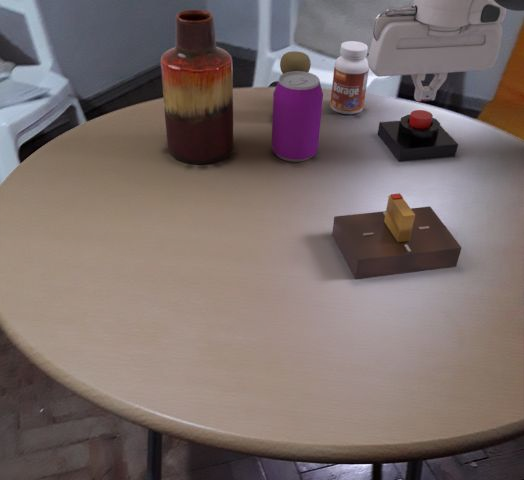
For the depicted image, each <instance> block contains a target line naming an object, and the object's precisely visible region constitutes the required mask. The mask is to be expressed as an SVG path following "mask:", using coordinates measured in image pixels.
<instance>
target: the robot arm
mask: <svg viewBox="0 0 524 480" xmlns="http://www.w3.org/2000/svg"><path fill="white" fill-rule="evenodd" d="M412 3H413V4H412V5H411V6H410V5H409V6H401V7H396V6H390V7H386V8H385V10H383V11H380V13H379V14H378V15H377V16H376V17H375V19H374V24H373V29H372V33H373V37H372V40H371V44H370V47H369V53H368V55H367V56H368V57H367V60H368V66H369V70H370V71H371V72H372V73H373V74H374V75H375V76H376V77H381V78H382V77H396V76H411V80H412V82H413V85H414V94H413V99H414V100H415V102H428V101H429V102H430V101H435V100H436V96H437V91H438V90H439V89H441V87H442V86H443V84H444V83H445V82H446V81H447V78H448V75H449V74H450V73H462V72H463V73H464V72H465V73H466V72H479V71H483V72H484V71H489V70H491V69H492V67H493V66H494V65H495V64H496V63H497V61H498V56H499V54H500V49H501V45H502V39H503V33H504V32H503V31H504V30H503V25H502V24H501V23H502V22H503V21H504V19H506V18H505V17H506V14H507V10H510V11H515V12H524V0H413V2H412ZM429 74H430V75H432V74H433V78H432V80H431V81H430V83H429V84H428V85H423V83H422V81H423V82H424V81H425V80H426V76H427V75H429Z"/></svg>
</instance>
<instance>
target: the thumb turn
mask: <svg viewBox="0 0 524 480" xmlns="http://www.w3.org/2000/svg"><path fill="white" fill-rule="evenodd" d="M387 198H388V199H387V203H386V209H385V211H386V214H385V219H384V222H385V224H386V225H387V227H388V228H389V230H390V231H391V233H392V234H393V236H394V237H395V239H396V240H397V242H406V241H409V240H410V235H411V231H412V226H413V222H414V218H415V214H414V213H413V211H412V210H411V207H410V206H409V204H408V203H407V202H406V200H405V199H404V197H403V195H402V194H401V193H400V192H399V193H392V194H389V195H388V197H387Z"/></svg>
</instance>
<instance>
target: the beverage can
mask: <svg viewBox="0 0 524 480" xmlns="http://www.w3.org/2000/svg"><path fill="white" fill-rule="evenodd" d="M322 88H323V87H322V85H321V80H320V78H319V77H318V76H317V75H316V74H313V73H311V72H309V73H308V72H301V71H292V72H287V73H284V74H283V73H282V74H281V75H279V78H278V81H277V83H276V86H275V88H274V91H273V97H272V124H271V125H272V126H271V149H272V152H273V153H274V154H275V155H276V156H277V157H278V158H279V159H282V160H284V161H287V162H293V163H299V162H305V161H308V160H310V159H311V158H312V157H314V156H315V155H316V154H317V153H318V150H319V144H320V133H321V124H322V123H321V122H322V111H323V101H324V92H323V89H322Z"/></svg>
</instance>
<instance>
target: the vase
mask: <svg viewBox="0 0 524 480" xmlns="http://www.w3.org/2000/svg"><path fill="white" fill-rule="evenodd" d="M174 24H175V28H174V29H175V31H174V32H175V46H174V47H171V48H170V49H167V50H165V52H164V53H163V54H162V55H161V57H160V73H161V85H162V95H163V96H162V97H163V108H164V119H165V120H164V122H165V131H166V132H165V133H166V143H167V151H168V153H169V155H170V156H171V157H172V158H173V159H175V160H177V161H179V162H182V163H185V164H191V165H209V164H215V163H219V162H221V161H223V160H226V159H227V158H229V157H230V156H231V155H232V153H233V151H234V89H233V88H234V78H233V77H234V76H233V75H234V74H233V73H234V71H233V57H232V55H231V54H230V53H229V52H228V51H227V50H225V49H224V48H222V47H219V46H217V41H216V40H217V39H216V29H215V27H216V26H215V19H214V15H213V13H212V12H211V11H207V10H203V9H186V10H182V11H179V12H177V13H176V15H175V23H174Z"/></svg>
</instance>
